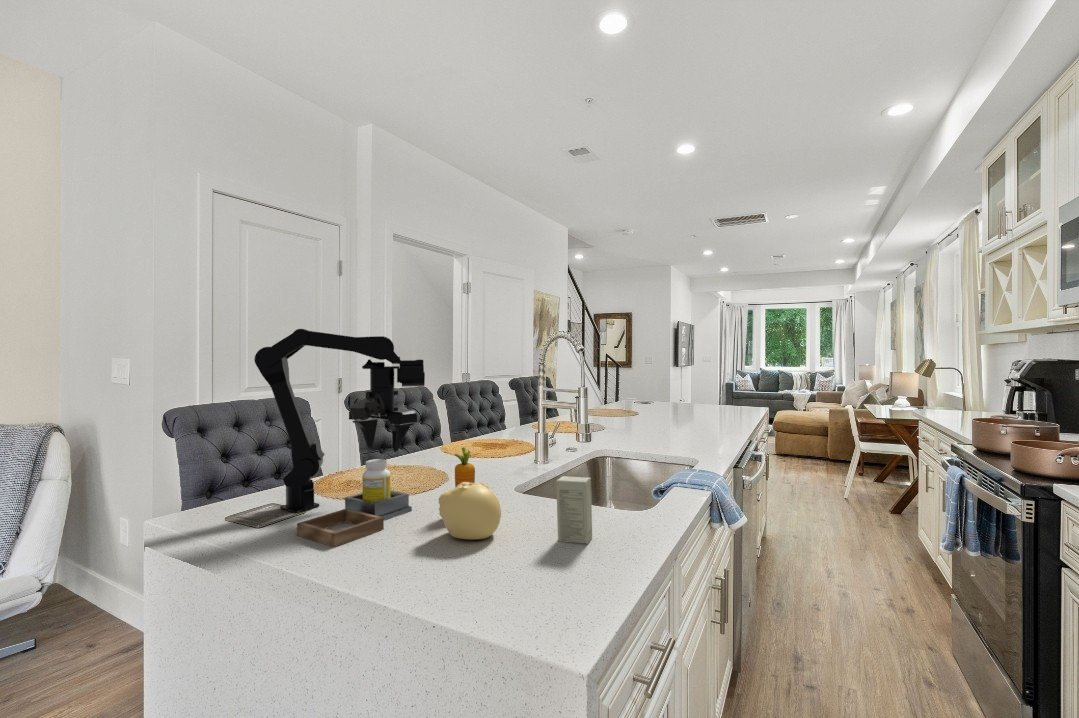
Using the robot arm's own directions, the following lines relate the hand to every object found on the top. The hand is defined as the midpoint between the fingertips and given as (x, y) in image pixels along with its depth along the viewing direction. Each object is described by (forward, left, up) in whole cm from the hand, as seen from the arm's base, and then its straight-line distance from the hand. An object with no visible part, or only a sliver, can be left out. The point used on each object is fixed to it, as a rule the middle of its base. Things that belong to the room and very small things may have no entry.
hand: (382, 449), depth 133 cm
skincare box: (+53, +2, -13) cm, 55 cm away
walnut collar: (+10, -20, -13) cm, 26 cm away
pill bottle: (+6, -7, -12) cm, 15 cm away
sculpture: (+34, -7, -13) cm, 37 cm away
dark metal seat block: (+6, -7, -13) cm, 16 cm away
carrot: (+23, +4, -13) cm, 27 cm away
